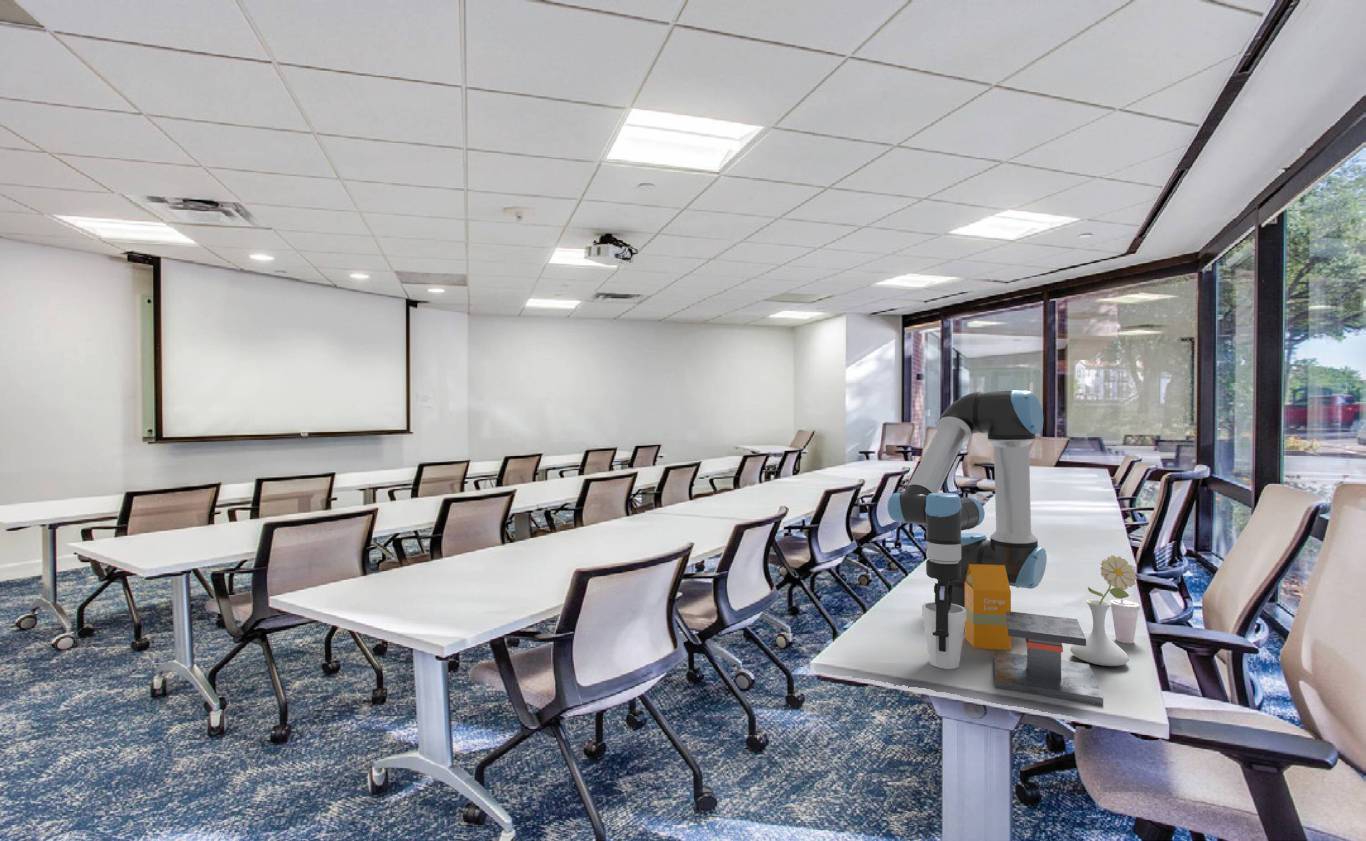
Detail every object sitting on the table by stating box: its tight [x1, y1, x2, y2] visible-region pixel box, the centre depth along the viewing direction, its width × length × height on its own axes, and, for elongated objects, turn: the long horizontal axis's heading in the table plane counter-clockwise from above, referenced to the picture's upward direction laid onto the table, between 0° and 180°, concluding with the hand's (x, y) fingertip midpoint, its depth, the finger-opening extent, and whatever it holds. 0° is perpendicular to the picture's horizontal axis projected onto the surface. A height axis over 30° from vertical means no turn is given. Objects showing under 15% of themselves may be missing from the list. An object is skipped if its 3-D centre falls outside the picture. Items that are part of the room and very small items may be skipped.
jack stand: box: [993, 610, 1104, 706], centre depth 135 cm, size 19×19×12 cm
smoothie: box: [1109, 598, 1141, 644], centre depth 158 cm, size 6×6×14 cm
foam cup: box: [921, 601, 966, 670], centre depth 143 cm, size 10×9×13 cm
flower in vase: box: [1070, 554, 1138, 667], centre depth 144 cm, size 13×11×25 cm
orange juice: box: [964, 564, 1012, 651], centre depth 156 cm, size 8×9×20 cm
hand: (944, 656), depth 143 cm, fingers closed on foam cup, 9 cm apart
